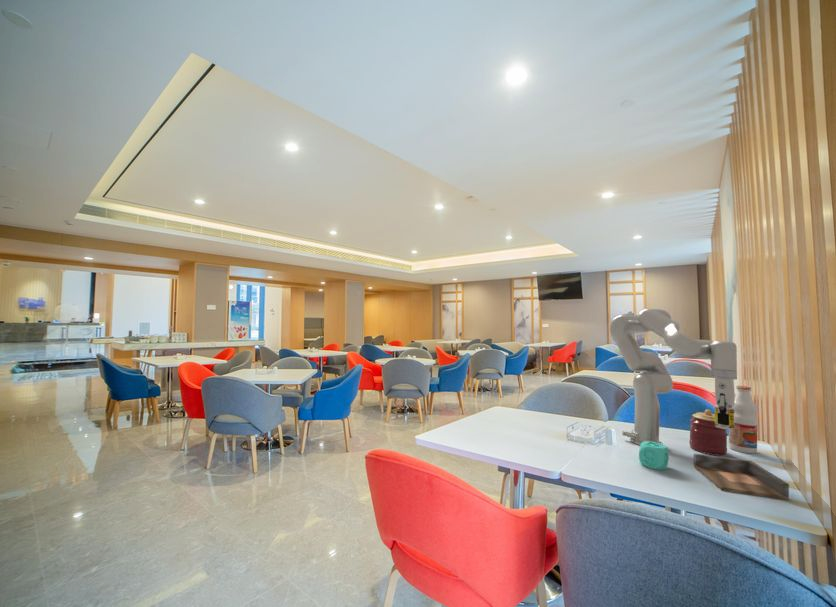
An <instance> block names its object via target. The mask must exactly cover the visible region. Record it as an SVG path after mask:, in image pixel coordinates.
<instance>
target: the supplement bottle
mask: <svg viewBox="0 0 836 607" xmlns="http://www.w3.org/2000/svg"><path fill="white" fill-rule="evenodd" d="M724 405H727V404H724ZM725 408H726V407H725ZM714 414H715V426H716V427H718V428H721V429H726V431H727V430H728V431H729V430H733V429H734V407H731V406H730V405H728V414H729V425H722V424H718V405H717V404H716V403H715V405H714Z"/></svg>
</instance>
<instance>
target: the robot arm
mask: <svg viewBox="0 0 836 607" xmlns="http://www.w3.org/2000/svg"><path fill="white" fill-rule="evenodd" d="M680 328H681V326H680V324H679V323H678V322H677V321H675V320H673V319H672V316H671V314H670V313H669V312H668V311H666V310H665V309H661V308H660V309H659V308H658V309H657V308H645V309H643V310H640V311H639V312H638V314H637V315H632V314H622V315H621V314H620V315H617V316H615V317H614V318H613V319H612V320H611V322H610V325H609V331H610V336H611V337H612V340H613V341H614V343H615V345H616V346H617V348H618V350H619V352H620V353H621V356H622V358H623V360H624V361H625V364H626V366H627V367H628V369H629V370H630V371H631V372H638V374H636V375H635V376H634V378H633V379H632V380H633V381H632V385H633V390H634V427H633V429H632V430H631V431H625V430H623V431H622V434H621V435H622V436H623V437H624V436H625V437H627V438H629V440H630V442H632V443H633V444H635V445H639V446H640V445H641V443H642V442H644V441H651V442H656V443H660V444H663V445H664V443H663V442H662V441H660V412H661V410H660V409H661V408H660V405H661V404H660V401H659V398H658V395H660V394H661V395H663V394H668V393H670V392H671V391H672V390H673V389H674V382H673V379H672V377H671V374H670V372H669V371H668V369H667V368H666V365H665V364H664V362H663V360H662V359H661V358H660V356H658V354H656V353H655V352H652V351H644V350H643V349H642V348H641V347H640V345H639V343H638V341H637V340H636V339H635V338H634V337H633V336H632V335H631V333H632V334H633V333H634V334H643V333H648V332H653V333H655V335H658V336H659V337H661V338H662V339H663V340H664V342H665V344H666V345H667V346H668V347H669V348H670V349H671V350H673V351H674V352H676V353H678V354H679V355H682V356H683V357H685V358H688V359H693V360H695V359H697V360H698V359H700V360H710V377H711V378H713V379H714V395H715V397H714V398H715V405H716V404H717V405H718V424H722V425H729V414H728V405H730V406H731V407H732V406H734V404H735V396H736V395H735V380H738V367H737V366H738V364H737V363H738V358H737V357H738V356H737V353H738V352H737V351H738V350H737V348H738V347H737V344H736V343H735V342H733V341H722V340H721V341H720V340H719V341H718V340H715V341H714V340H711V339H710V340H709V339H692V338H690V337H688V336H687V335H685V334H683V333H681V332H680V330H681V329H680ZM724 404H727V405H724ZM725 407H726V408H725Z"/></svg>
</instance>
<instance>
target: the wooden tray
mask: <svg viewBox="0 0 836 607" xmlns="http://www.w3.org/2000/svg"><path fill="white" fill-rule="evenodd" d="M694 467H695V468H694ZM693 468H694V469H696V471H698V472H699V471H700V472H701V473H702V475H703V476H704V475H705V476H706V477H707V478H708V479H707V478H706V477H705V476H704V477H705V478H706V479H707V480H709V481H710V482H711V483H712V482H713V483H714V484H715V485H714V484H713V483H712V484H713V485H714V486H715V487H716V488H718V489H719V488H720V489H721V490H720V489H719V490H720V491H723V490H726V491H725V492H730V491H733V492H732V493H737V492H739V493H738V494H744V495H752V496H758V497H764V498H765V497H766V498H771V499H778V500H779V499H780V500H785V501H789V499H790V498H789V495H790V493H789V492H790V484H789V482H786V481H784V480H783V479H781V478H780V477H778V476H776V475H775V474H773V473H771V472H770V471H768V470H766V469H765V468H763V467H762V466H760V464H759V465H758V464H757V463H755V462H754V461H752V460H748V459H739V458H732V457H724V456H723V457H722V456H718V455H710V454H699V453H693ZM700 472H699V473H700Z"/></svg>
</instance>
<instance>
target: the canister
mask: <svg viewBox="0 0 836 607" xmlns="http://www.w3.org/2000/svg"><path fill="white" fill-rule="evenodd" d="M691 416H692V418H690V419H689V422H690V426H689V447H690V448H691V449H692V450H694V449H695V450H694V451H697V452H700V451H701V452H700V453H703V452H705V453H704V454H707V453H709V454H708V455H712V454H714V455H713V456H725V455H727V453H728V447H727V446H728V433H727V429H721V428H718V427H716V426H715V413H713V411H712V410H711V409H705V410H704V412H699V411H697V412H696V413H694V414H692V415H691Z"/></svg>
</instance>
